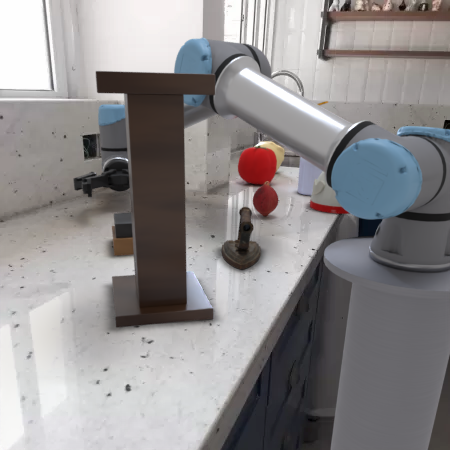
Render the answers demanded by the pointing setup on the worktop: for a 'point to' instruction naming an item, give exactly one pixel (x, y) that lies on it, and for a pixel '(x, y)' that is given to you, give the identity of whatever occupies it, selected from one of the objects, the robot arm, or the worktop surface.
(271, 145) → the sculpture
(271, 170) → the tomato
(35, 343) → the worktop surface
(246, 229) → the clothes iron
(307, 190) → the soap bottle
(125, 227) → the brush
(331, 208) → the kitchen timer
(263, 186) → the onion
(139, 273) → the stand
